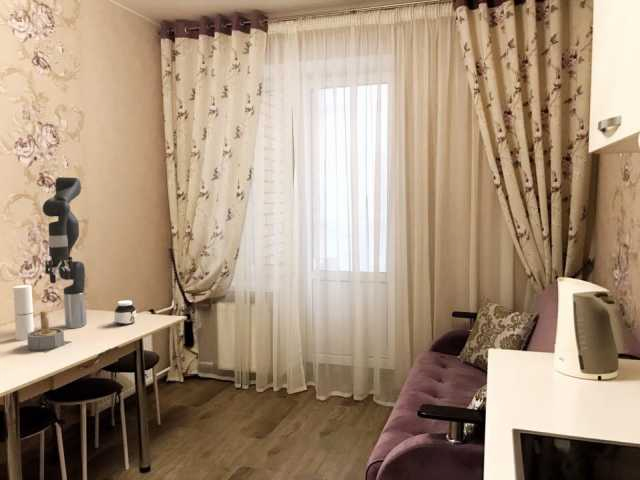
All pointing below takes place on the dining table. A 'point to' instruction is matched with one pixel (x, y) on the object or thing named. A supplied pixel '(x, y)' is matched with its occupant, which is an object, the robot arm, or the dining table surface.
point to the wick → (44, 322)
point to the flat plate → (44, 350)
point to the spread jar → (125, 313)
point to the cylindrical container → (23, 311)
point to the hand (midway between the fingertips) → (60, 281)
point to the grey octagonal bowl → (45, 339)
